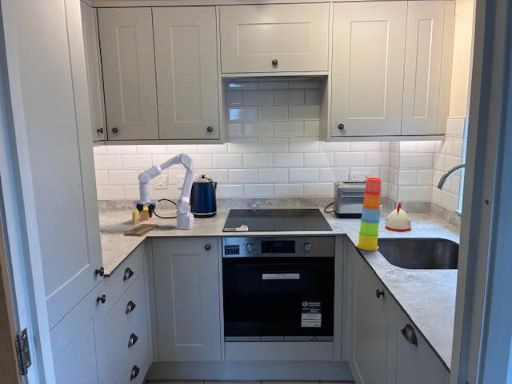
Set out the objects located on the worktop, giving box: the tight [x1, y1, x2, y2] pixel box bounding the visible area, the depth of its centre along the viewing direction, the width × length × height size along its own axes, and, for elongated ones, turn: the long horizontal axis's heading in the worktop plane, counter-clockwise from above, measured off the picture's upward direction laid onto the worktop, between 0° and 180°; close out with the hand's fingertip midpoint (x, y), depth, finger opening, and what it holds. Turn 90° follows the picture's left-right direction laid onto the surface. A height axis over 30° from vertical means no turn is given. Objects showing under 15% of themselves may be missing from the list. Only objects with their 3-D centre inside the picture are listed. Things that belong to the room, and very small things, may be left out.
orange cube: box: [140, 210, 153, 222], centre depth 215 cm, size 5×5×5 cm
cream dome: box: [384, 202, 412, 233], centre depth 216 cm, size 14×14×15 cm
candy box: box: [131, 206, 148, 226], centre depth 238 cm, size 16×2×8 cm, turn 161°
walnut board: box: [124, 223, 159, 237], centre depth 218 cm, size 10×20×1 cm, turn 167°
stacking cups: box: [356, 177, 382, 252], centre depth 182 cm, size 10×10×35 cm
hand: (146, 216), depth 215 cm, fingers closed on orange cube, 5 cm apart
